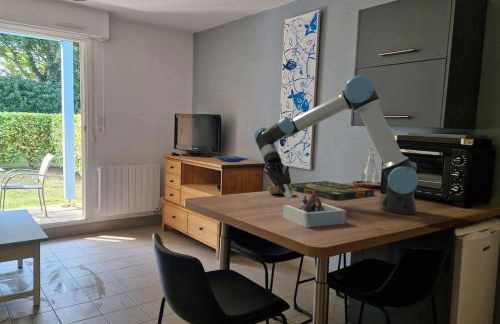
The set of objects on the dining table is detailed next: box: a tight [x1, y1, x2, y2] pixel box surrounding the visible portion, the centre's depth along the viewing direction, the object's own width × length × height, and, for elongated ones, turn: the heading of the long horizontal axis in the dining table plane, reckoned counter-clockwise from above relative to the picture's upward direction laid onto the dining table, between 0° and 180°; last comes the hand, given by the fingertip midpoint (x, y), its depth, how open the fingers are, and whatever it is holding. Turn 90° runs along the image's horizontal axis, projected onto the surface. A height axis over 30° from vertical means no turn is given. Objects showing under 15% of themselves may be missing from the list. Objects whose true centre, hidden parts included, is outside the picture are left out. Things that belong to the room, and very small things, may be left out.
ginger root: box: [267, 183, 294, 196], centre depth 201 cm, size 16×16×8 cm
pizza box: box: [290, 180, 375, 201], centre depth 216 cm, size 35×35×4 cm
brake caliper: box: [299, 192, 325, 212], centre depth 151 cm, size 11×11×12 cm
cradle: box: [282, 202, 347, 228], centre depth 147 cm, size 15×19×5 cm
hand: (289, 198), depth 162 cm, fingers closed
